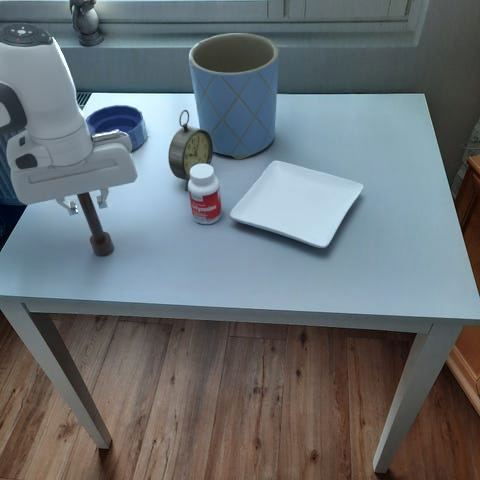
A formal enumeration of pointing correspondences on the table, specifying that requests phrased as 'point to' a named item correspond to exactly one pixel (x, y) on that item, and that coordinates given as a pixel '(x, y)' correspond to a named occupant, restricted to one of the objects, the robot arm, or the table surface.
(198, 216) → the pill bottle
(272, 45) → the planter
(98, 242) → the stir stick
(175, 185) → the table surface
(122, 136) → the robot arm
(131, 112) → the bowl
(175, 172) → the alarm clock
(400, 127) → the table surface
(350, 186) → the salad plate
